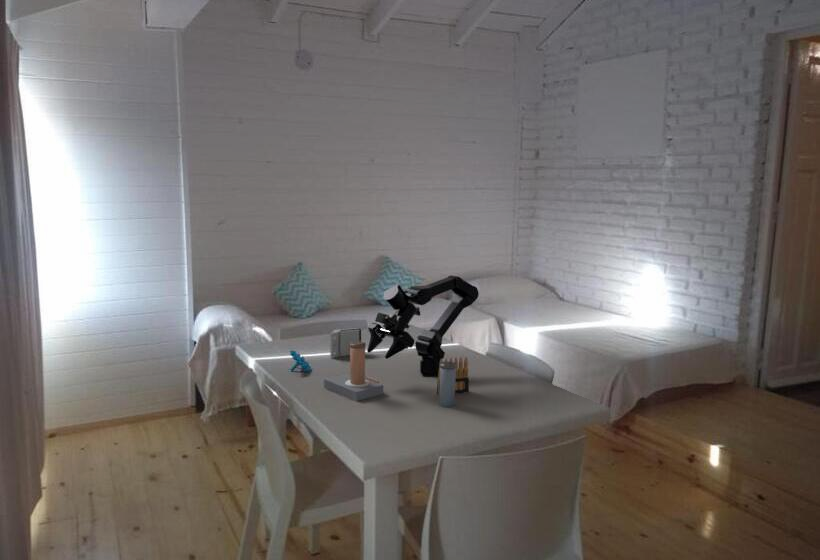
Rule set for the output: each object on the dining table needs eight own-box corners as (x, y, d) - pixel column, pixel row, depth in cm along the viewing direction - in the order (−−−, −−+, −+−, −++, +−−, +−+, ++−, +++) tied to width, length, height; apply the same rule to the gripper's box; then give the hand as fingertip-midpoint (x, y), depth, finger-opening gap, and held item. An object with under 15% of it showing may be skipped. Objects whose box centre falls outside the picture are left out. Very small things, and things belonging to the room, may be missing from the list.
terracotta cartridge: (368, 381, 219) (368, 342, 217) (361, 385, 214) (361, 346, 212) (354, 379, 220) (354, 341, 218) (347, 383, 216) (347, 344, 214)
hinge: (331, 359, 258) (331, 333, 257) (325, 356, 263) (324, 331, 261) (362, 354, 266) (362, 329, 264) (356, 351, 270) (356, 327, 269)
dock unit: (352, 381, 230) (352, 371, 229) (384, 393, 217) (384, 382, 216) (324, 387, 222) (324, 377, 222) (356, 401, 209) (356, 390, 209)
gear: (309, 370, 236) (290, 350, 236) (297, 382, 236) (278, 362, 236) (315, 366, 247) (296, 347, 247) (303, 377, 247) (285, 358, 247)
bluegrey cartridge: (452, 401, 210) (454, 361, 208) (456, 407, 205) (457, 366, 203) (437, 401, 209) (438, 361, 207) (440, 407, 204) (441, 366, 202)
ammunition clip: (438, 395, 216) (439, 359, 214) (436, 393, 218) (437, 358, 216) (468, 392, 220) (469, 356, 218) (466, 390, 221) (467, 355, 219)
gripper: (371, 299, 229) (346, 335, 224) (408, 308, 216) (382, 347, 210) (388, 318, 236) (364, 354, 230) (425, 328, 222) (400, 366, 217)
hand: (376, 355), depth 222 cm, fingers open, 9 cm apart
